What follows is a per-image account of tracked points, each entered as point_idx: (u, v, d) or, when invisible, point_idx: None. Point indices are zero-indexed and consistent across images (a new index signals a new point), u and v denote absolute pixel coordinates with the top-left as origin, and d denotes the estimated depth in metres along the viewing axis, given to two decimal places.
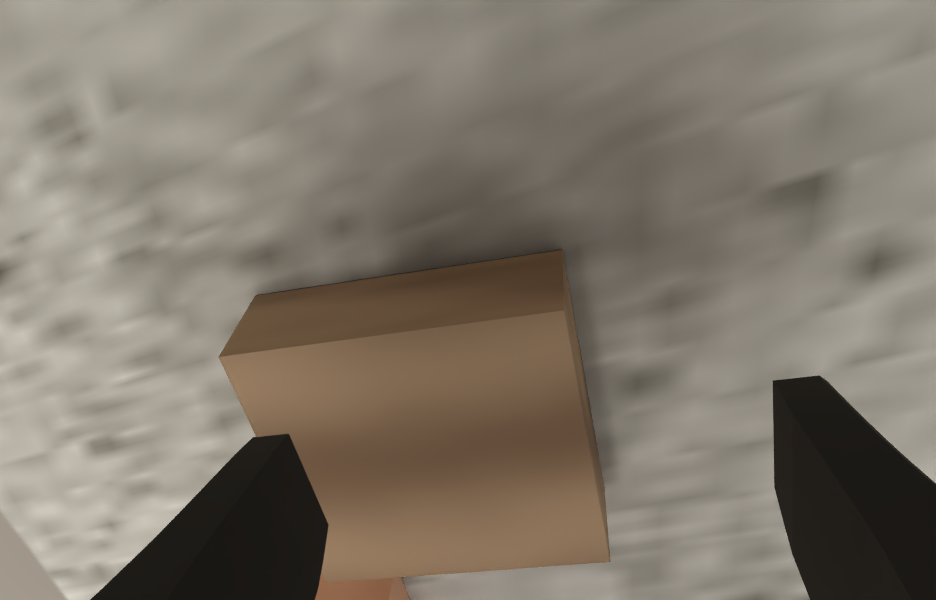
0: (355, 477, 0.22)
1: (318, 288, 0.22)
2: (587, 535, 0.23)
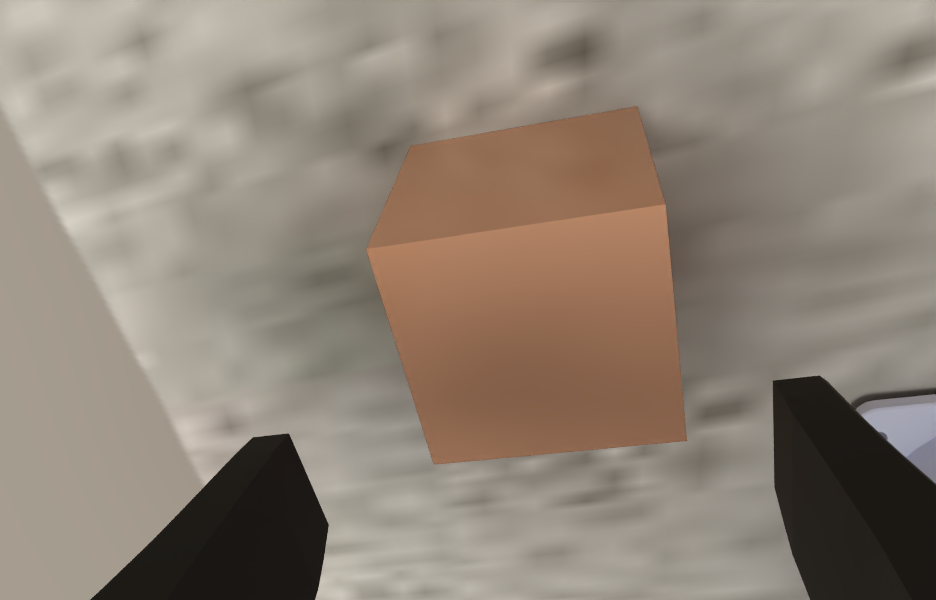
0: None
1: None
2: None
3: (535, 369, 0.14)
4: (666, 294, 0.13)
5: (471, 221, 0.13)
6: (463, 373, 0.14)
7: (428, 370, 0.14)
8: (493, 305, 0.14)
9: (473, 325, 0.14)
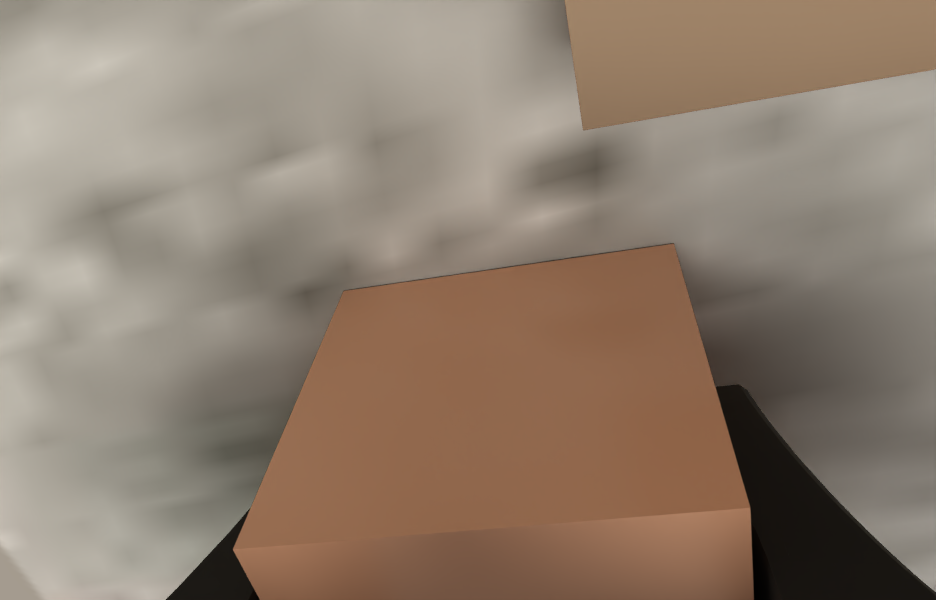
0: None
1: None
2: None
3: None
4: None
5: (411, 500, 0.08)
6: None
7: None
8: None
9: None
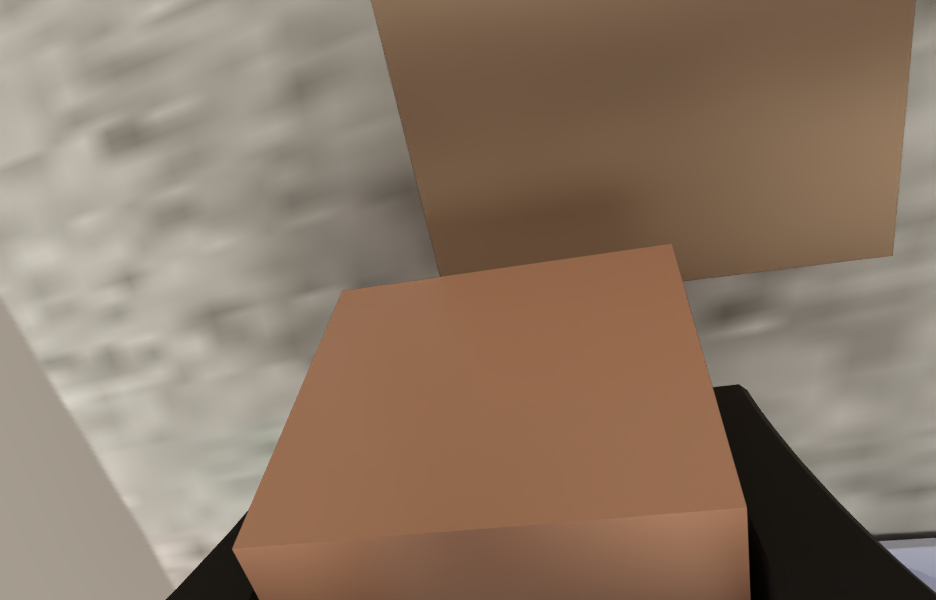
0: (522, 97, 0.14)
1: None
2: (868, 204, 0.15)
3: None
4: None
5: (409, 499, 0.08)
6: None
7: None
8: None
9: None
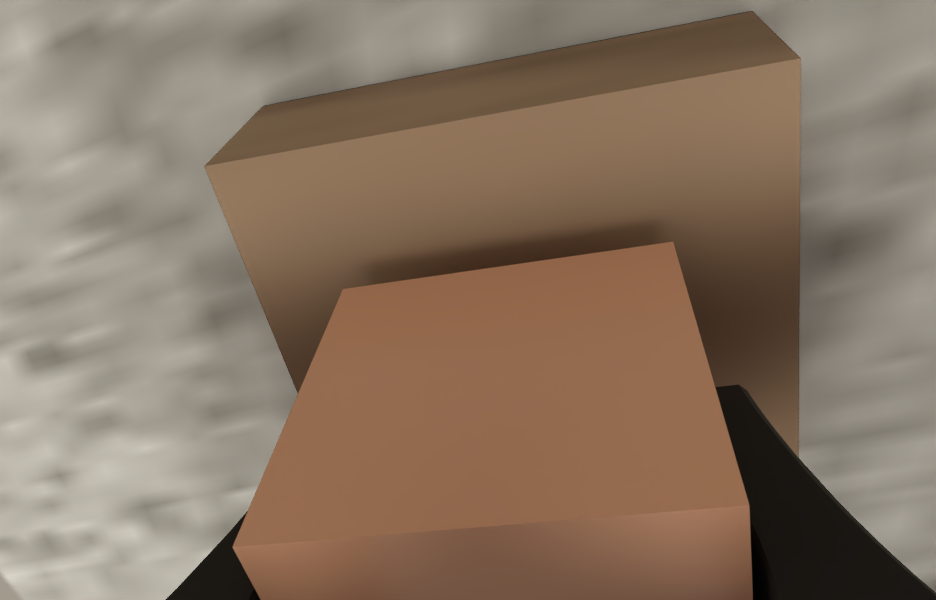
0: None
1: (360, 88, 0.14)
2: None
3: None
4: None
5: (411, 497, 0.08)
6: None
7: None
8: None
9: None
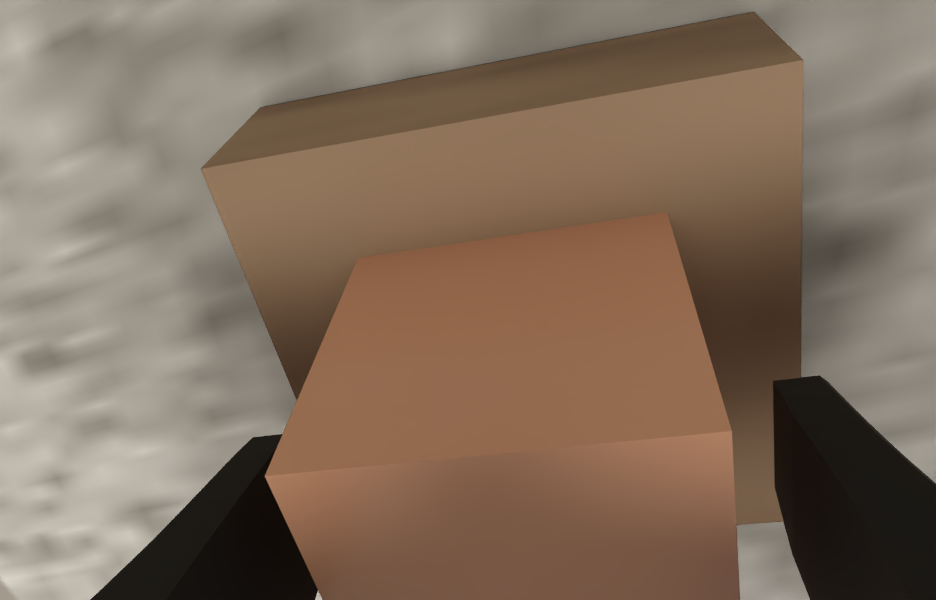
0: None
1: (358, 90, 0.14)
2: (771, 477, 0.15)
3: None
4: (726, 545, 0.09)
5: (426, 432, 0.09)
6: None
7: None
8: (461, 552, 0.09)
9: (432, 574, 0.09)
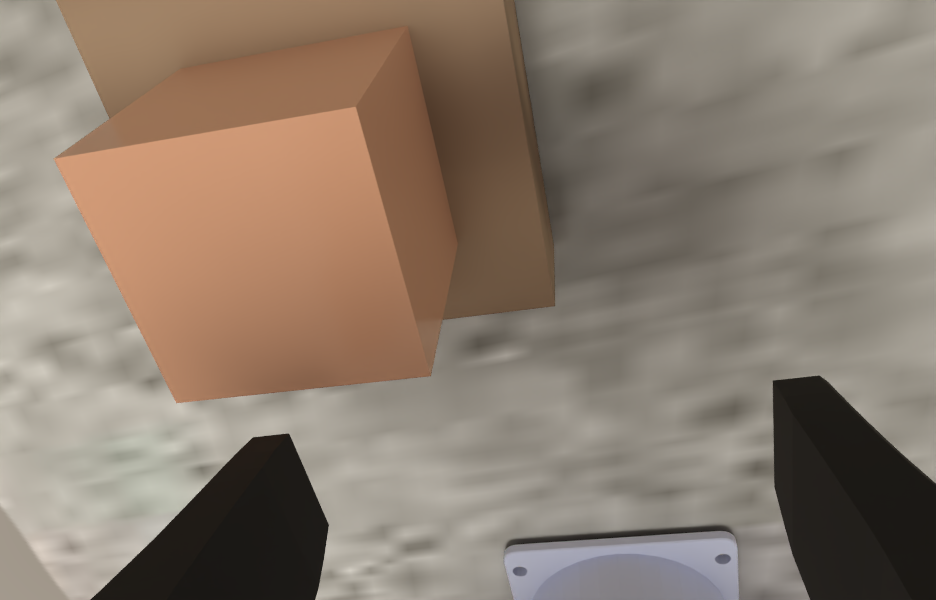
0: None
1: None
2: (526, 266, 0.18)
3: (258, 295, 0.13)
4: (377, 210, 0.12)
5: (169, 130, 0.12)
6: (185, 301, 0.13)
7: (149, 297, 0.14)
8: (200, 223, 0.13)
9: (184, 245, 0.13)
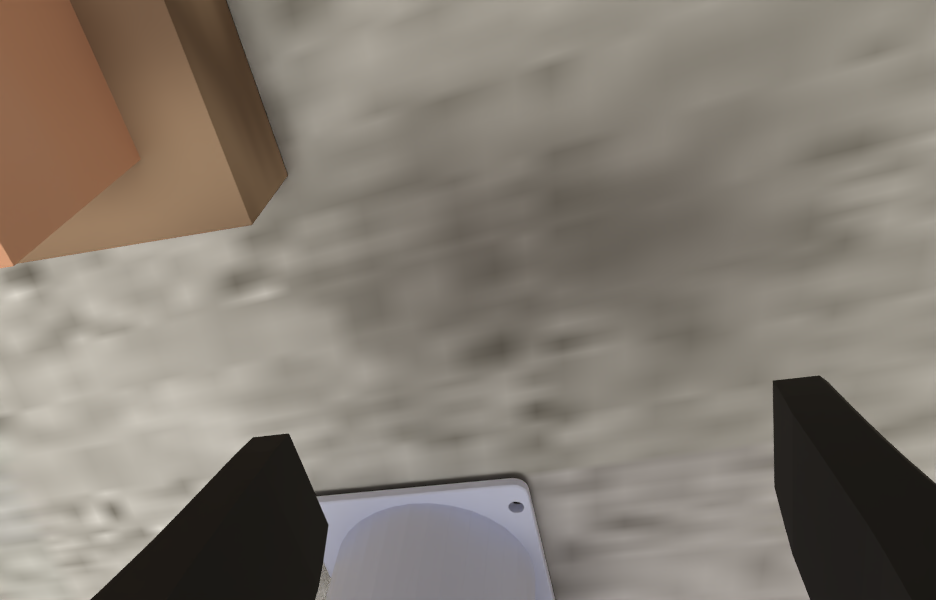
0: None
1: None
2: (213, 181, 0.18)
3: None
4: None
5: None
6: None
7: None
8: None
9: None
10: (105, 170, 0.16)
